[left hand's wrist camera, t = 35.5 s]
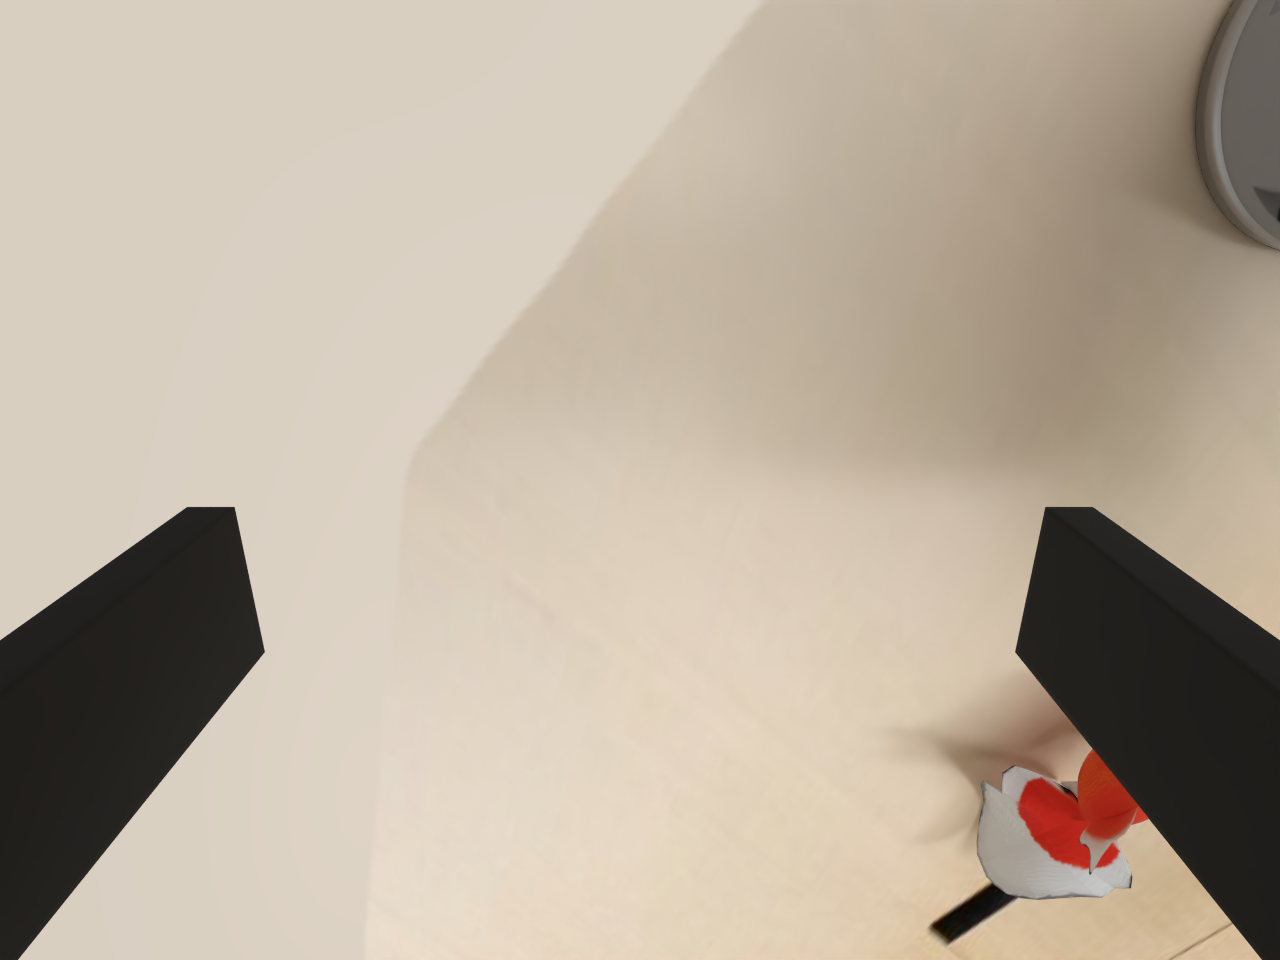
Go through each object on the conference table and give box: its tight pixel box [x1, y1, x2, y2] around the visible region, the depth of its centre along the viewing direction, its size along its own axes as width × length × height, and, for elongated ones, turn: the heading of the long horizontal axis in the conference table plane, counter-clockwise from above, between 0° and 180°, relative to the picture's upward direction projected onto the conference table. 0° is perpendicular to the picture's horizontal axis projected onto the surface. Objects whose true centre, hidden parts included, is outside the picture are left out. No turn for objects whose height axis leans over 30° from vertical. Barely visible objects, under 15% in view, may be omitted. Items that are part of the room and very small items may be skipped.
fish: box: [977, 750, 1149, 900], centre depth 45 cm, size 11×16×10 cm
